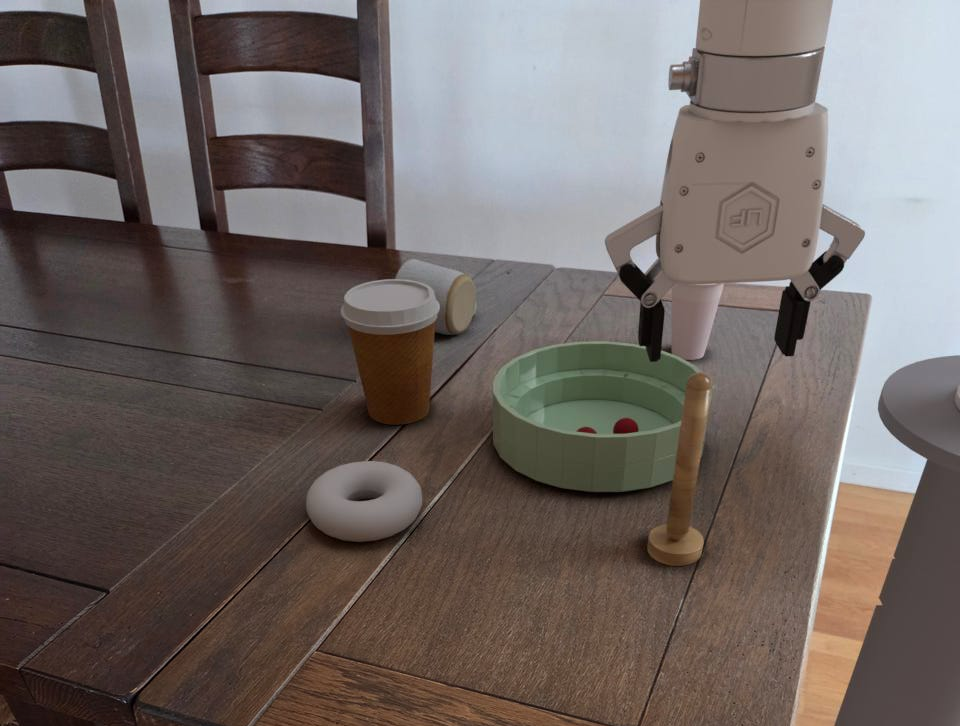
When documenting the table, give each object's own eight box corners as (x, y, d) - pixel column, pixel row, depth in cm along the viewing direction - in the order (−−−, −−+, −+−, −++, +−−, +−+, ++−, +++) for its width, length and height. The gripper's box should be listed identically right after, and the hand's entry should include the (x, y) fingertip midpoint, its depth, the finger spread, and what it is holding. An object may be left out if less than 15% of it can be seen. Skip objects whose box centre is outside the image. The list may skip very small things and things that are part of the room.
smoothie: (658, 363, 100) (674, 231, 91) (660, 340, 105) (675, 213, 96) (717, 366, 99) (738, 233, 90) (715, 343, 104) (736, 215, 95)
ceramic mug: (451, 346, 105) (449, 279, 100) (392, 334, 107) (387, 268, 103) (492, 316, 112) (492, 253, 107) (436, 306, 115) (433, 244, 110)
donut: (418, 551, 73) (428, 486, 81) (415, 516, 71) (426, 452, 78) (298, 550, 74) (319, 485, 81) (292, 516, 71) (314, 452, 79)
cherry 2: (624, 453, 85) (605, 437, 84) (628, 439, 86) (610, 423, 86) (641, 437, 83) (623, 421, 82) (645, 424, 85) (627, 408, 84)
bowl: (685, 395, 94) (693, 340, 90) (720, 497, 78) (731, 436, 75) (494, 397, 94) (494, 342, 90) (492, 498, 79) (491, 437, 75)
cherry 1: (607, 437, 83) (594, 424, 81) (594, 460, 83) (580, 447, 82) (590, 432, 85) (576, 419, 83) (577, 454, 85) (563, 442, 83)
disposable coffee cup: (418, 440, 87) (409, 319, 80) (335, 422, 91) (319, 304, 83) (460, 400, 94) (456, 284, 86) (381, 385, 97) (371, 272, 89)
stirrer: (697, 535, 74) (726, 360, 64) (706, 566, 71) (738, 386, 61) (644, 535, 74) (665, 360, 64) (650, 566, 71) (674, 387, 61)
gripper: (619, 102, 52) (605, 378, 63) (920, 87, 51) (851, 369, 63) (606, 78, 57) (595, 335, 69) (877, 64, 57) (821, 326, 68)
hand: (717, 351), depth 66 cm, fingers open, 9 cm apart
